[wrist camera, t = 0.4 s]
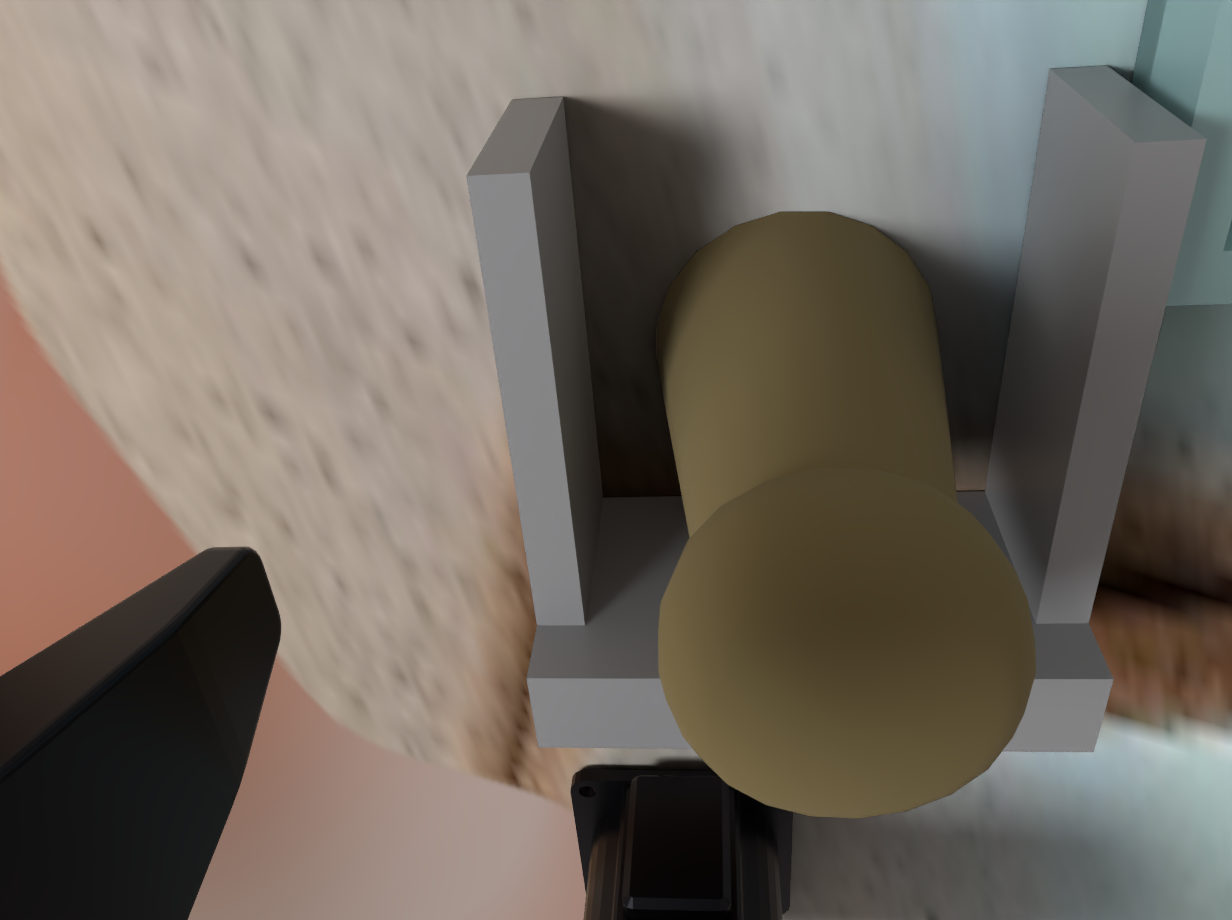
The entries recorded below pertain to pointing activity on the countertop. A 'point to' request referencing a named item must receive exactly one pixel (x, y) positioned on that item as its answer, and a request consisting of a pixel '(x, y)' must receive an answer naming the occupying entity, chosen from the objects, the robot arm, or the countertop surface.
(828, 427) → the cork
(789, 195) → the countertop surface
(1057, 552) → the bay
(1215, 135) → the tray
